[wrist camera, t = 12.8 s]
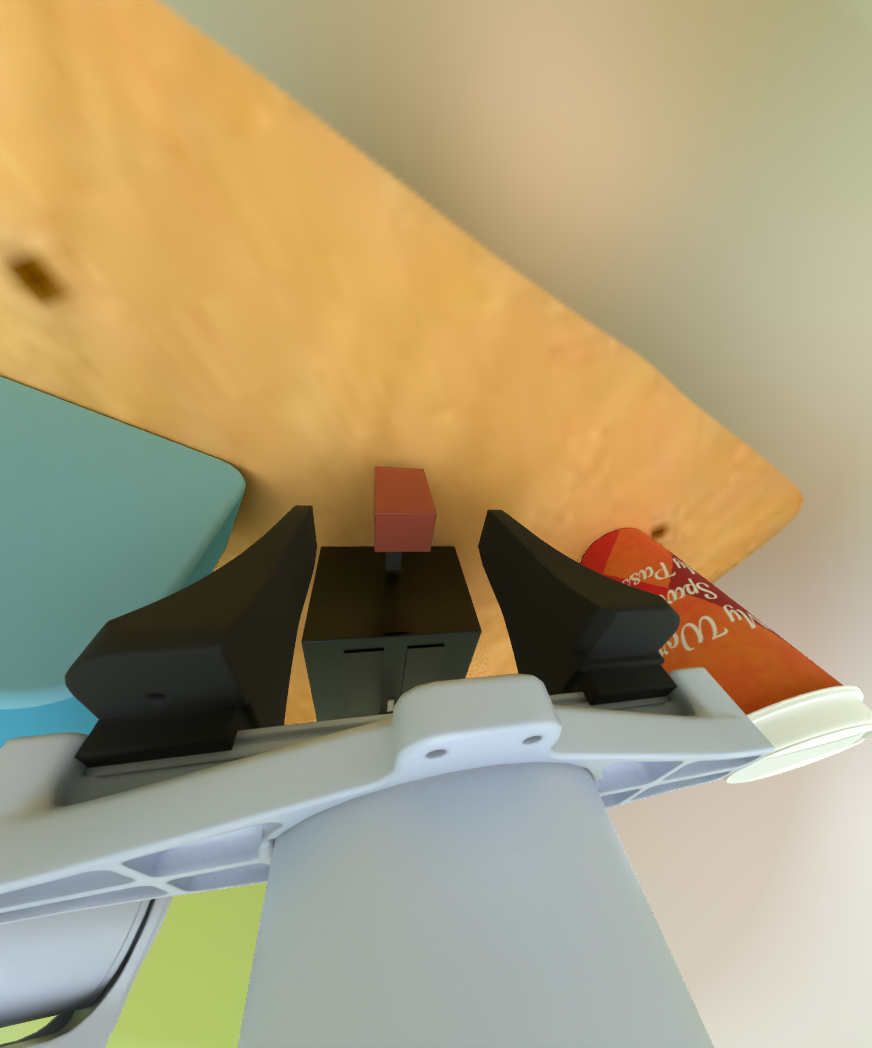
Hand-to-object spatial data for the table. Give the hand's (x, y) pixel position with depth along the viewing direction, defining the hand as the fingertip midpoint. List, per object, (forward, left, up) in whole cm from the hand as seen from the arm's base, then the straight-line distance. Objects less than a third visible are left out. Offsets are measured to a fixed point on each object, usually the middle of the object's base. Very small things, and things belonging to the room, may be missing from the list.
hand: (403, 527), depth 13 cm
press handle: (0, -2, -4) cm, 4 cm away
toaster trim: (0, -10, -4) cm, 11 cm away
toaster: (0, -14, -6) cm, 15 cm away
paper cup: (+18, -7, -6) cm, 20 cm away
